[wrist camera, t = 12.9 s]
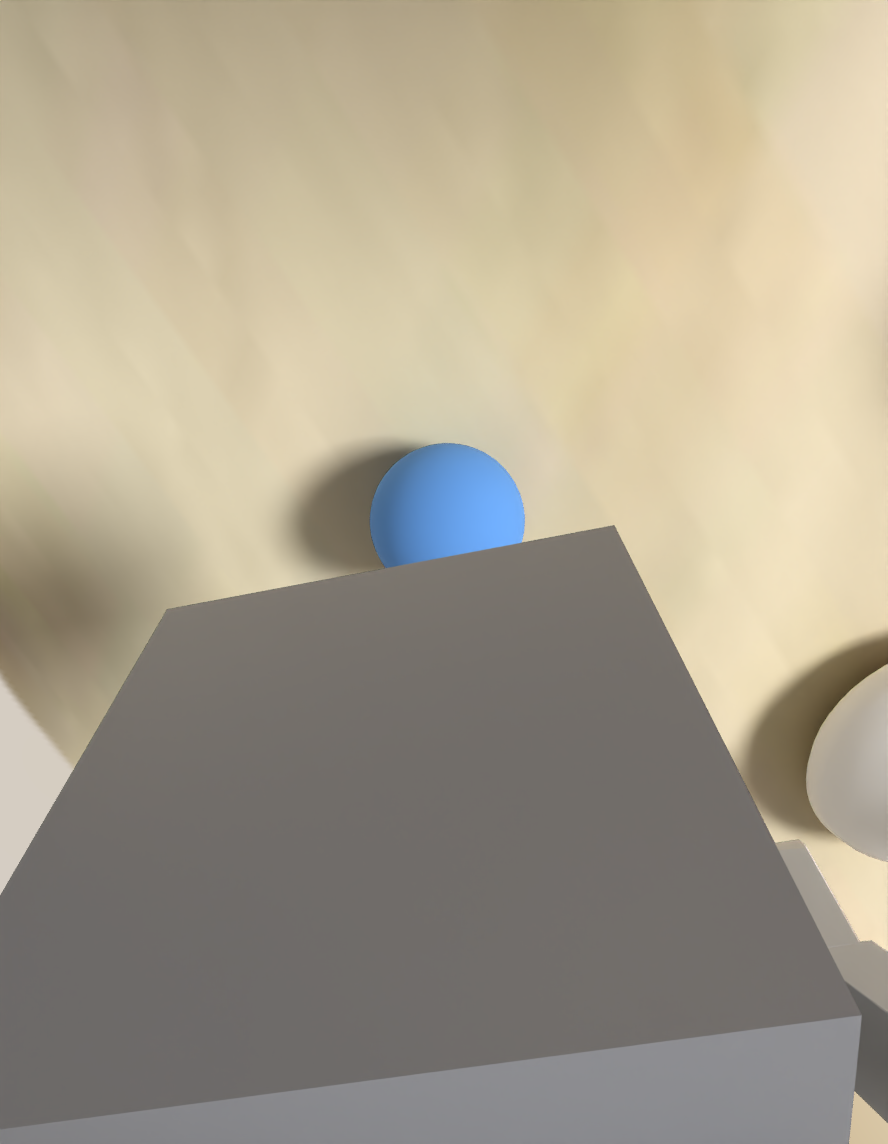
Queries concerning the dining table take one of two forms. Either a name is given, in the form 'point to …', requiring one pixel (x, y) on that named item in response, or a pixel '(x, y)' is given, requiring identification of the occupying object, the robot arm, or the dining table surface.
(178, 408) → the dining table surface
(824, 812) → the flower in vase
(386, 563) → the ball
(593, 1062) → the matte grey cube
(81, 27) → the dining table surface
